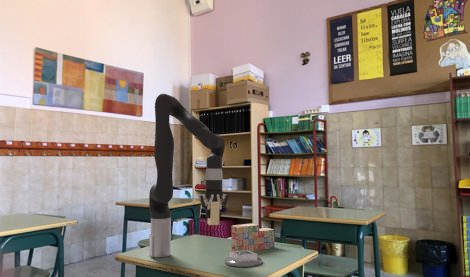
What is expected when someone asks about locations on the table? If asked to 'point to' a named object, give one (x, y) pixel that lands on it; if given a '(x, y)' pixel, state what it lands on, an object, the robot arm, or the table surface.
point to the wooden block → (214, 214)
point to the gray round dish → (243, 259)
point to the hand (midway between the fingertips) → (213, 217)
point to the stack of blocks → (251, 237)
